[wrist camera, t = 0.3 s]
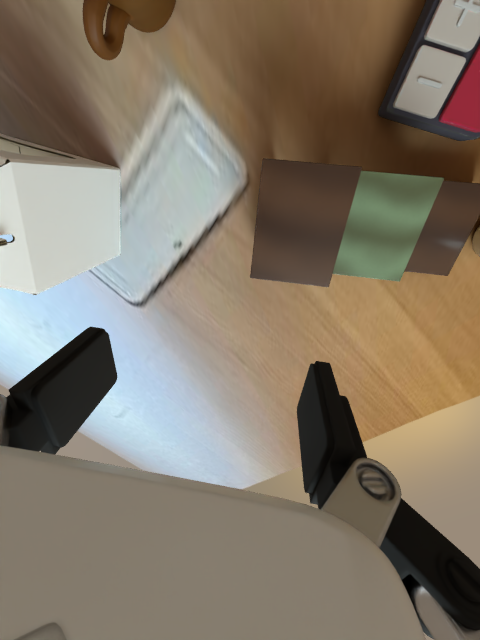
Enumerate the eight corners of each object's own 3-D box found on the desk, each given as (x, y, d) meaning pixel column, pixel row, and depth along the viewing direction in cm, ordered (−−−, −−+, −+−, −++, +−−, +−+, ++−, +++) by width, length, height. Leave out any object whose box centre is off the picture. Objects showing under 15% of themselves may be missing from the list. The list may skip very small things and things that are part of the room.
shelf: (267, 166, 33) (262, 158, 21) (471, 184, 32) (594, 186, 19) (257, 248, 39) (250, 278, 27) (431, 267, 37) (507, 308, 25)
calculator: (387, 110, 26) (502, -148, 18) (374, 116, 30) (465, -96, 22) (483, 139, 27) (640, -102, 18) (458, 142, 30) (581, -58, 22)
